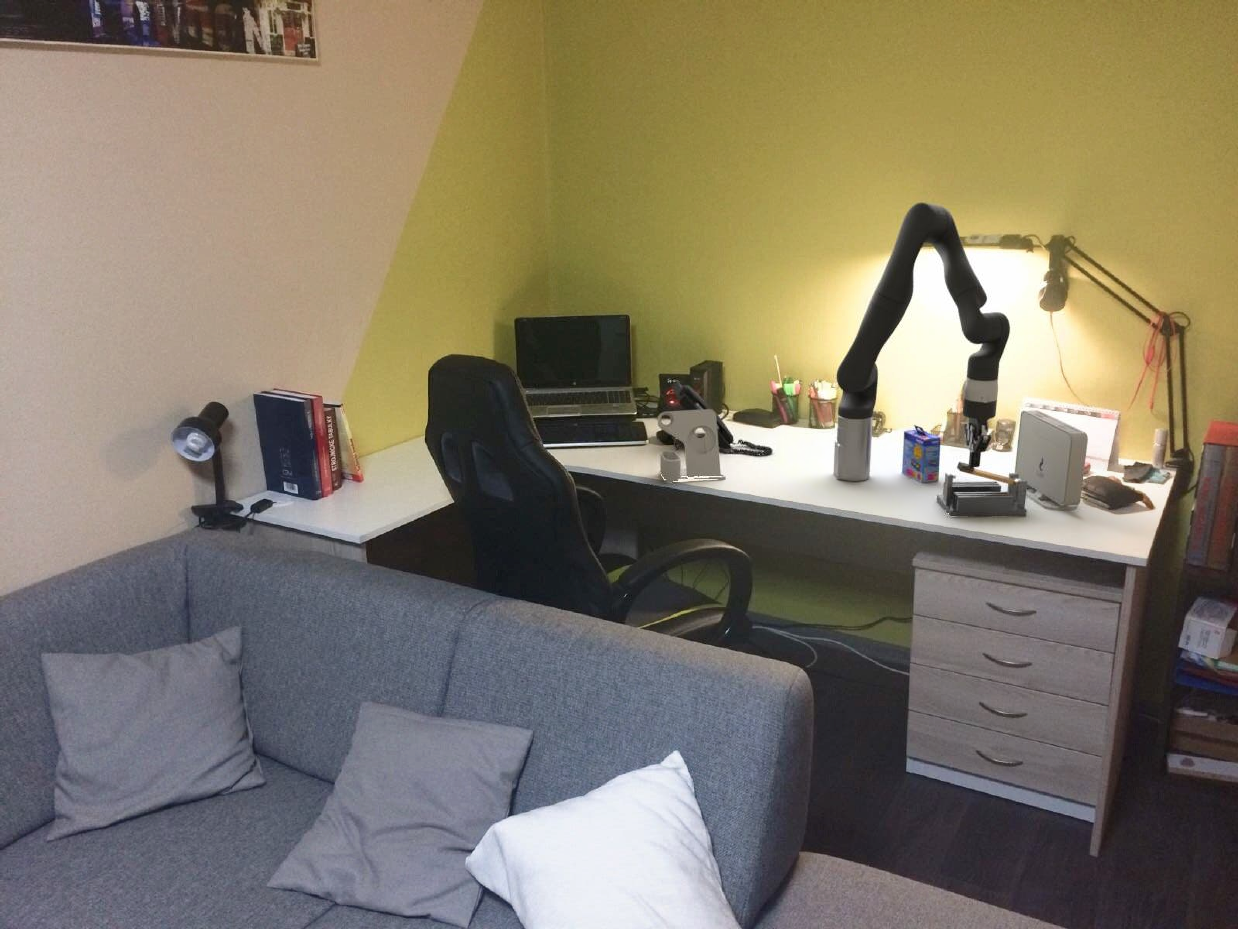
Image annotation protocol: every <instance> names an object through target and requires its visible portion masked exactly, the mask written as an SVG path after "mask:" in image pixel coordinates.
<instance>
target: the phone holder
mask: <svg viewBox="0 0 1238 929" xmlns="http://www.w3.org/2000/svg"><path fill="white" fill-rule="evenodd" d="M702 409H703V408H702ZM713 410H714V409H713ZM713 410H711V409H703V410H685V411H682V410H673V411H671V410H670V411H663V412H661V413H660V414H658V417H657V425H658V427H659V429H660V430H662V431H664V432H665V433H667V434H669V436H670V435H672V436H673V437H675V438H677V439H678V440H680V442H682V444H683V445H684V454H685V455H684V456H685V458H684V459H685V467H686V468H681V462H682V461H681V460H682V459H681V457H680V456H679V455H678V454H677V452H676V451H672V450H664V451H662V452H660V453H659V454H660V455H659V456H660V457H659V458H660V463H659V464H660V471H659V473H660V472H661V474H662V476H663V477H664V479H666V480H665V481H666V482H665V481H664V482H665V483H666V484H671V483H670V482H673V481H678V479H688V478H687V477H681V476H688V477H694V476H698V477H699V476H722V477H709V478H694V479H724V478H726V477H727V476H726V474H725V473H724V472H723V471H722V469H721V460H720V452H719V446H718V433H717V426H718V425H717V419H716V414H715V412H716V411H715V410H714V411H715V412H714V411H713ZM664 416H668V417H669V418H670V422H669V423H668V424H664V423H663V422H662V417H664ZM698 429H702V430H703V429H704V430H703V432H704V436H702V437H701V438H700V437H698V436H697V435H696V431H697V430H698ZM724 480H725V479H724Z"/></svg>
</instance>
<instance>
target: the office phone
mask: <svg viewBox="0 0 1238 929" xmlns="http://www.w3.org/2000/svg"><path fill="white" fill-rule="evenodd" d="M671 389H672V391H673V393H674V396H675V398H676V399H677V401H678V403H679V404H680V405H681V406H682V409H681V411H685V410H703V409H711V410H713V411H714V412H715V414H716V419H717V433H718V446H719V453H722V454H729V455H730V454H743V455H750V456H757V457H759V456H762V457H763V456H769V455H771V454H773V449H772V447H770V446H767V445H766V446H765V445H759V444H755V443H752V442H751V441H747V440H743V439H742V438H741V439H738V442H734V435H733V434H732V433H731V432H730V430H729V428H728V427H727V425H726V424H725V422H724V421H723V420H722V419H721V416H719V414H718V413H717V412H716V411H715V410H714V409H713V407H711V406H710V404H709V403H707V402H706V401H705V400H704V398H702V396H700V395H699V394H698V393H697V392H696V391H695V389H693V388H692V387H691V386H690V385H688V384H683V385H682V384H681V383H680V382H679V381H678V380H676V381H674V383H673V384H672V386H671ZM702 430H703V431H704V429H702ZM680 444H681V441H680V440H678V439H676V442H675V444H674V443H673V446H674V448H675V450H676V451H677V450H678V448H679V446H680ZM732 445H740V446H743V445H744V446H746V447H748V448H750V449H744V448H732ZM751 449H753V450H751Z"/></svg>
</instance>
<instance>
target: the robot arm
mask: <svg viewBox="0 0 1238 929" xmlns="http://www.w3.org/2000/svg"><path fill="white" fill-rule="evenodd" d="M955 222H956V221H955V220H954V217H953V215H952V213H951V212H950V210H949V209H948V208H946V207H944V206H941V205H938V204H933V203H929V202H917V203H915V204H914V205H912V206H911V207H910V208H909V210H908V211H907V212H906V213H905V215H904V217H903V220H902V222H901V225H900V228H899V231H898V234H897V238H896V240H895V243H894V245H893V248H892V252H891V254H890V257H889V259H888V261H887V263H886V266H885V267H884V271H883V273H882V275H881V277H880V280H879V282H878V283H877V285H876V287H875V290H874V291H873V294H872V296H871V298H870V301H869V303H868V306H867V308H866V311H865V313H864V315H863V318H862V320H861V323H860V325H859V328H858V330H857V333H856V335H855V338H854V340H853V341H852V344H851V346H850V347H849V349H848V351H847V353H846V354H845V356H844V358H843V360H842V361H841V363H840V364H839V366H838V368H837V371H836V382H837V385H838V386H839V388H840V389H841V391H842V395H841V398H840V402H839V403H838V407H837V427H836V439H835V440H834V455H833V456H834V457H833V474H834V476H835V477H836V480H843V481H851V482H860V481H866V480H868V479H869V478H870V474H871V459H872V458H871V457H872V454H871V453H872V439H873V421H874V409H875V406H876V402H877V393H878V382H879V370H878V366H877V363H876V362H877V360H878V357H879V356H880V352H881V351H882V349H883V348H884V346H885V345H886V343H887V342H888V340H889V339H890V338H891V336H892V335H893V333H894V332H895V330H896V329H897V327H898V326H899V325H900V323H901V321H902V319H903V318H904V316H905V314H906V311H907V310H908V307H909V305H910V303H911V302H912V297H913V295H914V287H915V286H914V283H915V282H914V278H915V277H914V272H915V270H914V269H915V264H916V261H917V259H918V258H917V257H918V256H919V254H920V251H921V250H922V247H923V246H924V244H925V243H926V244H930V245H931V246H932V247H933V249H935V251H936V252H937V253H938V255H939V257H940V259H941V261H942V265H943V278H944V283H945V286H946V288H947V291H948V293H949V295H950V297H951V298H952V300H953V302H954V304H955V306H956V307H957V312H958V316H959V318H958V319H959V321H960V322H959V323H960V326H961V331H962V332H961V333H962V334H963V336H964V338H965V339H966V340H967V341H968V342H970V343H971V344H974V345H981V347H980V349H979V350H978V351H976V352H973V353H972V354H970V355H969V356H968V360H967V368H966V369H967V371H966V380H965V385H964V391H963V402H962V416H963V417H965V418H967V419H968V422H966V423H964V425H963V426H964V434H965V435H964V436H965V441H966V442H965V443H966V446H967V447H968V451H969V456H968V464H969V465H970V466H971V467H974V468H979V467H980V466H981V457H982V453H985V452H986V450H987V448H988V446H989V444H990V442H991V439H992V436H991V434H988V432H989V425H988V424H989V423H988V420H990V419H993V418H995V417H996V414H997V404H998V396H999V395H998V393H999V382H998V381H999V373H1000V372H999V371H1000V362H1001V359H1002V357H1003V354H1004V352H1005V349H1006V347H1007V346H1006V345H1007V343H1008V341H1009V338H1010V332H1011V324H1010V320H1009V319H1008V317H1007V316H1006V315H1005V313H1003V312H999V311H997V312H996V311H995V312H994V311H993V312H984V313H983V312H982V311H981V308H983V307H984V306H985V304H986V303H987V300H988V296H987V293H986V291H985V289H984V287H983V286H982V284H981V282H980V280H979V278H978V277H977V275H976V274H975V272H974V269H973V268H972V265H971V264H970V261H969V259H968V257H967V256H968V255H967V254H966V251H965V249H964V245H963V243H962V240H961V236H960V234H959V232H958V229H957V226H956V223H955Z"/></svg>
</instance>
